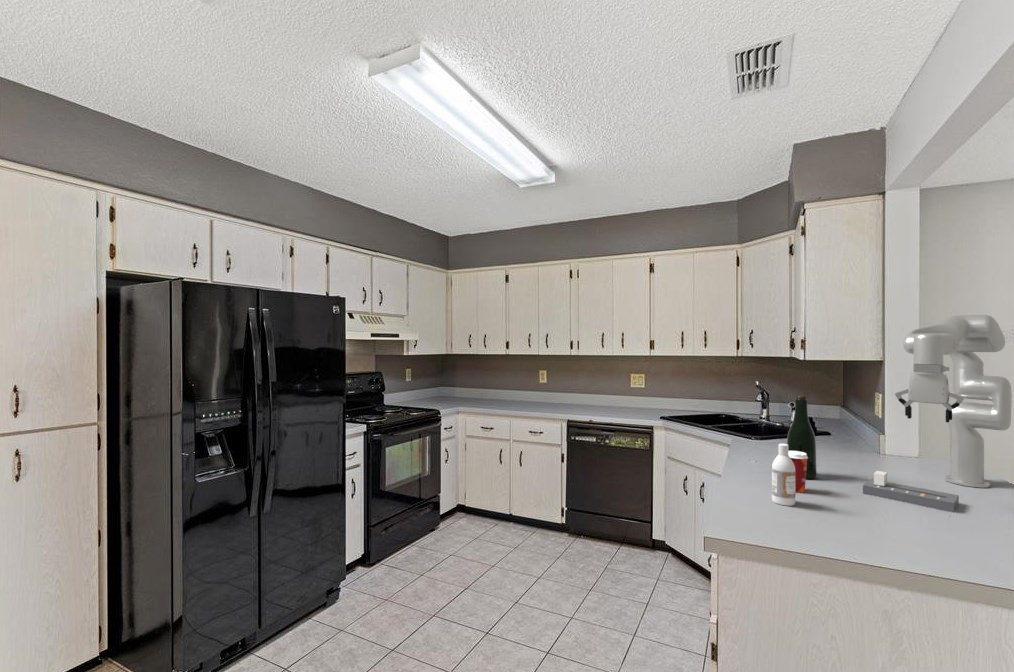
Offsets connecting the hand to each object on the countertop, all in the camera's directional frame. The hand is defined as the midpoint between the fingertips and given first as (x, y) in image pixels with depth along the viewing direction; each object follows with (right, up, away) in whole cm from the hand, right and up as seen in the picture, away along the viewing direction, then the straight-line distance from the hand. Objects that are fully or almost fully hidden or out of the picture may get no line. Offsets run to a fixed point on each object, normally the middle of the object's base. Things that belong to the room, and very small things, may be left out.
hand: (928, 420), depth 157 cm
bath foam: (-48, -29, +2) cm, 56 cm away
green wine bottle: (-22, -29, +33) cm, 49 cm away
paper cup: (-36, -29, +15) cm, 48 cm away
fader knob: (-6, -26, +12) cm, 29 cm away
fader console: (-1, -29, +6) cm, 30 cm away
